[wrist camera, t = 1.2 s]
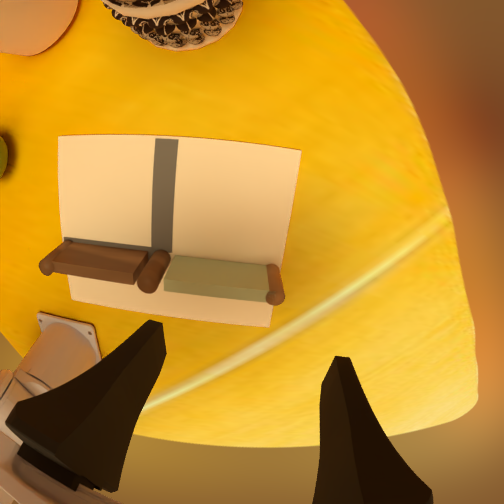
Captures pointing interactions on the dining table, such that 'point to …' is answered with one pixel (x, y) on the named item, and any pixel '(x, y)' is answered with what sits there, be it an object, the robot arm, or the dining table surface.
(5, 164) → the snail figurine
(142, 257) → the base
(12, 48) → the beverage can
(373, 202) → the dining table surface
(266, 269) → the fence gate
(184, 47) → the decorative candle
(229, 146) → the card
